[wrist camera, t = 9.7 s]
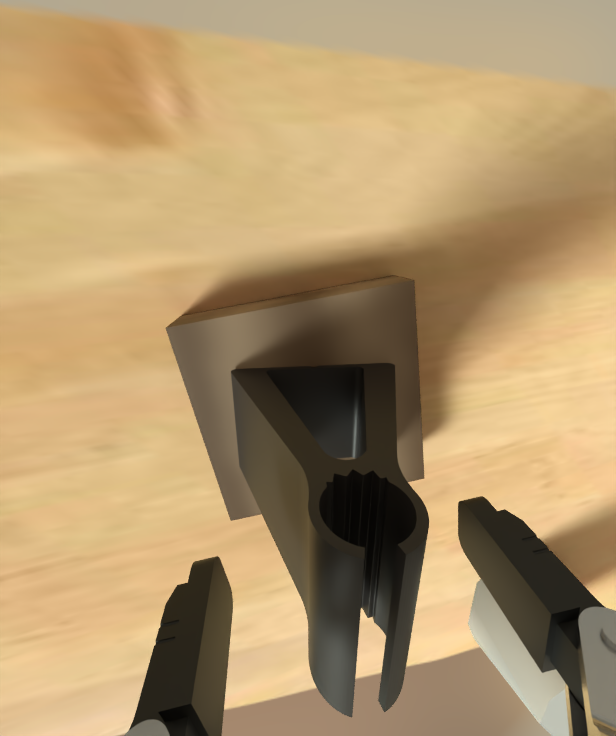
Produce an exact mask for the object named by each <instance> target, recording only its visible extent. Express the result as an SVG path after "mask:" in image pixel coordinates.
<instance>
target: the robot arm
mask: <svg viewBox="0 0 616 736" xmlns="http://www.w3.org/2000/svg"><path fill="white" fill-rule="evenodd" d="M458 536H459V540H460V544H461V546H462V549H463V551H464V553H465V555H466V556H467V558H468V559H469V561H470V562H471V564H472V566H473V567H474V569H475V570H476V572H477V573H478V575H479V576H480V578H481V579H482V581H483V583H484V584H485V586H486V587H487V589H488V590H489V592H490V593H491V595H492V596H493V598H494V600H495V601H496V603H497V604H498V606H499V607H500V609H501V610H502V612H503V613H504V615H505V617H506V618H507V620H508V621H509V623H510V624H511V626H512V627H513V629H514V630H515V632H516V634H517V635H518V637H519V638H520V640H521V641H522V643H523V644H524V646H525V647H526V649H527V651H528V652H529V654H530V655H531V657H532V658H533V660H534V661H535V663H536V664H537V666H538V668H539V669H540V671H541V672H542V673H544V672H547V671H551V670H555V669H556V670H557V671H558V673H559V674H560V676H561V677H562V679H563V680H564V681H565V695H566V705H567V716H568V727H569V736H616V611H614V610H612V609H608V608H606V607H604V606H603V605H602V604H601V603H600V602H599V601H598V600H597V599H596V598H595V597H594V596H593V595H592V594H591V593H590V592H589V591H588V590H587V589H586V588H585V587H584V586H583V584H582V583H581V582H580V581H579V580H578V579H577V578H576V577H575V576H574V575H573V574H572V573H571V572H570V571H569V570H568V568H567V567H566V566H565V565H564V564H563V563H562V562H561V561H560V560H559V559H558V558H557V557H556V556H555V555H554V553H553V552H552V551H549V549H548V547H547V546H546V545H545V544H544V543H543V542H542V541H541V540H540V539H539V538H537V536H536V534H535V533H534V532H533V531H532V530H531V529H530V528H529V527H528V526H527V525H526V524H525V522H524V521H523V520H521V519H519V518H518V517H516V516H515V515H513V514H511V513H510V512H508V511H507V510H501V511H497V510H496V509H495V508H494V507H493V506H492V505H491V504H490V502H489V501H488V500H487V499H486V498H484V497H482V496H481V497H476V498H472V499H468V500H463V501H460V502H459V504H458ZM232 612H233V599H232V591H231V587H230V584H229V582H228V579H227V576H226V574H225V571H224V568H223V566H222V563H221V560H220V558H219V557H218V556H217V557H212V558H208V559H204V560H199V561H195V562H194V563H193V564H192V567H191V571H190V575H189V580H188V583H185V584H180V585H177V587H176V588H175V590H174V592H173V593H172V595H171V597H170V598H169V600H168V601H167V603H166V606H165V609H164V613H163V616H162V620H161V624H160V625H161V627H160V628H159V631H158V634H157V638H156V645H155V646H154V649H153V652H152V656H151V660H150V663H149V667H148V670H147V674H146V678H145V681H144V685H143V688H142V692H141V696H140V699H139V703H138V707H137V710H136V714H135V717H134V720H133V722H132V724H131V727H130V729H129V731H128V732H127V733H126V734H125V735H124V736H221V733H222V723H223V712H224V701H225V690H226V679H227V668H228V656H229V645H230V634H231V623H232Z"/></svg>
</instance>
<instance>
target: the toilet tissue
mask: <svg viewBox="0 0 616 736" xmlns="http://www.w3.org/2000/svg"><path fill="white" fill-rule="evenodd" d="M468 625H469V628H470V630H471V633H472V635H473V638H474V639H475V641H476V642H477V643H478V645H479V646H480V647H481V649H482V650H483V651H484V652H485V654H486V655H487V656H488V657H489V659H490V660H491V661H492V663H493V664H494V665H495V667H497V669H498V670H499V672H500V673H501V674H502V676H503V677H504V678H505V679H506V681H507V682H508V683H509V685H510V686H511V687H512V689H513V690H514V691H515V692H516V693H517V695H518V696H519V698H520V699H521V700H522V701H523V703H524V704H525V705H526V707H527V708H528V709H529V710H530V712H531V713H532V714H533V716H534V717H535V718H536V720H537V721H538V722H539V723H540V725H541V726H543V727H544V728H545V729H546V730H547V731H548V732H549V733H550V734H551V735H552V736H569V727H568V716H567V705H566V695H565V681H564V680H563V679H562V677H561V676H560V674H559V673H558V671H557V670H556V669H555V670H551V671H547V672H544V673H542V672H541V671H540V669H539V668H538V666H537V664H536V663H535V661H534V660H533V658H532V657H531V655H530V654H529V652H528V651H527V649H526V647H525V646H524V644H523V643H522V641H521V640H520V638H519V637H518V635H517V634H516V632H515V630H514V629H513V627H512V626H511V624H510V623H509V621H508V620H507V618H506V617H505V615H504V613H503V612H502V610H501V609H500V607H499V606H498V604H497V603H496V601H495V600H494V598H493V596H492V595H491V593H490V592H489V590H488V589H487V587H486V586H485V584H484V583H483V581H482V579H481V580H480V581H478V582H477V585H476V589H475V594H474V598H473V603H472V607H471V612H470V616H469V621H468Z"/></svg>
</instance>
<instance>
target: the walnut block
mask: <svg viewBox="0 0 616 736" xmlns="http://www.w3.org/2000/svg"><path fill="white" fill-rule="evenodd" d="M166 331H167V333H168V336H169V339H170V342H171V345H172V348H173V351H174V354H175V357H176V360H177V363H178V366H179V369H180V372H181V375H182V378H183V381H184V384H185V387H186V390H187V393H188V396H189V398H190V401H191V404H192V407H193V410H194V413H195V416H196V419H197V422H198V425H199V428H200V431H201V434H202V437H203V440H204V443H205V446H206V449H207V452H208V455H209V458H210V461H211V464H212V466H213V469H214V472H215V475H216V478H217V481H218V484H219V487H220V490H221V493H222V496H223V499H224V502H225V505H226V508H227V511H228V514H229V517H230V520H231V521H232V520H237V519H241V518H246V517H250V516H255V515H259V514H262V513H261V511H260V509H259V507H258V505H257V503H256V501H255V498H254V496H253V494H252V492H251V490H250V488H249V486H248V484H247V481H246V479H245V477H244V475H243V473H242V471H241V469H240V467H239V457H238V446H237V435H236V424H235V413H234V402H233V391H232V380H231V371H232V370H234V369H246V368H271V367H296V366H311V367H317V366H320V365H345V364H370V363H392V364H394V365H395V384H396V424H397V458H398V463H399V467H400V469H401V472H402V474H403V476H404V477H405V479H406V481H407V482H410V481H415V480H419V479H424V462H423V443H422V423H421V404H420V384H419V365H418V345H417V326H416V306H415V287H414V280H411V279H407V278H403V277H398V276H394V275H393V276H388V277H383V278H378V279H372V280H367V281H362V282H357V283H351V284H346V285H341V286H336V287H331V288H325V289H320V290H315V291H310V292H304V293H299V294H294V295H289V296H283V297H278V298H273V299H268V300H262V301H257V302H252V303H247V304H242V305H236V306H231V307H226V308H221V309H215V310H210V311H205V312H200V313H194V314H189V315H184V316H180V317H179V318H178V319H176V320H175V321H174V322H173V323H171V324H170V325H169V326H168V327H166ZM337 459H342V460H351V459H356V458H353V457H349V458H337Z"/></svg>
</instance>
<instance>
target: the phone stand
mask: <svg viewBox="0 0 616 736" xmlns="http://www.w3.org/2000/svg"><path fill="white" fill-rule="evenodd" d="M231 380H232V391H233V402H234V413H235V424H236V435H237V446H238V457H239V467H240V469H241V471H242V473H243V475H244V477H245V479H246V481H247V484H248V486H249V488H250V490H251V492H252V494H253V496H254V498H255V501H256V503H257V505H258V507H259V509H260V511H261V513H262V515H263V518H264V520H265V522H266V524H267V526H268V528H269V530H270V532H271V535H272V537H273V539H274V541H275V543H276V545H277V547H278V549H279V552H280V554H281V556H282V558H283V560H284V562H285V564H286V566H287V569H288V571H289V573H290V575H291V577H292V579H293V581H294V583H295V586H296V588H297V590H298V592H299V594H300V596H301V599H302V601H303V604H304V606H305V610H306V614H307V618H308V647H309V666H310V670H311V674H312V677H313V680H314V682H315V685H316V686H317V688H318V690H319V692H320V693H321V695H322V696H323V697H324V699H325V700H326V701H327V702H328V703H329V704H330V705H331V706H332V707H333V708H335V709H336V710H337V711H339V712H341V713H342V714H344V715H347V716H349V717H352V712H353V699H354V686H355V685H354V684H355V674H356V661H357V648H358V635H359V623H360V610H361V608H363V610H364V612H365V614H366V616H367V617H368V618H370V617H373V619H374V622H375V623H376V624H377V625H378V626H379V627H380V628H381V629H382V630H383V632H384V633H385V635H386V643H385V651H384V659H383V667H382V676H381V683H380V692H379V702H380V704H381V707H382V708H383V711H384V712H386V711H387V710H388V709H389V708H390V707H391V706H392V705H393V704H394V703H395V701H396V700H397V698H398V696H399V694H400V692H401V689H402V685H403V680H404V674H405V669H406V662H407V656H408V650H409V644H410V638H411V632H412V626H413V620H414V614H415V607H416V601H417V595H418V589H419V583H420V577H421V571H422V565H423V559H424V552H425V546H426V540H427V534H428V528H429V517H428V512H427V509H426V507H425V505H424V503H423V501H422V500H421V498H420V497H419V496H418V495H417V493H416V492H415V491H414V490H413V489H412V487H411V486H410V485H409V484H408V482H407V481H406V479H405V477H404V476H403V474H402V472H401V469H400V467H399V463H398V458H397V424H396V384H395V365H394V364H392V363H370V364H345V365H320V366H317V367H311V366H296V367H271V368H246V369H234V370H232V371H231ZM349 457H353V458H356V459H351V460H342V459H337V458H349Z"/></svg>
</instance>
